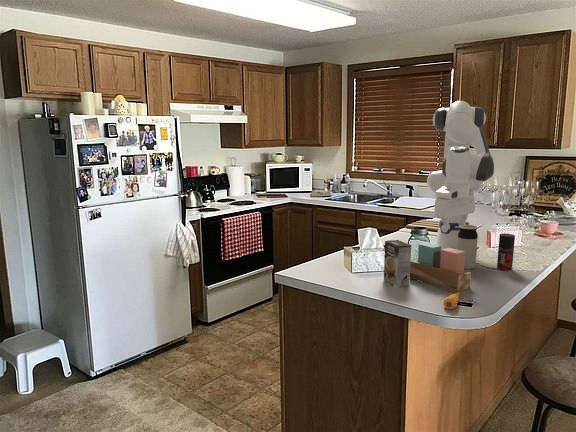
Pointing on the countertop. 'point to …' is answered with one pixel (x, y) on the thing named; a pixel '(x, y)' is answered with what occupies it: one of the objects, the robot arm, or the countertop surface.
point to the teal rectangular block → (429, 254)
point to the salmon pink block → (452, 260)
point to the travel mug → (468, 244)
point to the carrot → (451, 301)
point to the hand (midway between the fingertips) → (454, 227)
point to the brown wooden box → (439, 277)
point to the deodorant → (505, 252)
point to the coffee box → (397, 262)
